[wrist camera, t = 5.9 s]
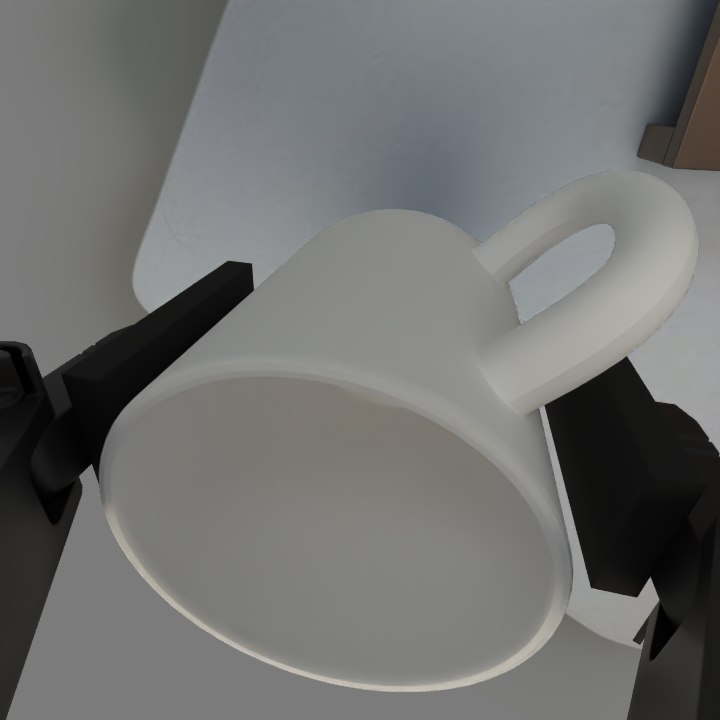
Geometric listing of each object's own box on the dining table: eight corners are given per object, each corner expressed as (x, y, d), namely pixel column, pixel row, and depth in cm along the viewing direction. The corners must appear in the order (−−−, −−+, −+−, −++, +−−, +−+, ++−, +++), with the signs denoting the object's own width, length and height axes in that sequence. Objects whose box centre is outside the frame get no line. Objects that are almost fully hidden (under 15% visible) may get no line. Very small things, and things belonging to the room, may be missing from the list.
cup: (247, 311, 17) (34, 516, 9) (500, 29, 12) (590, -160, 3) (394, 444, 19) (334, 721, 11) (678, 259, 13) (1047, 546, 5)
